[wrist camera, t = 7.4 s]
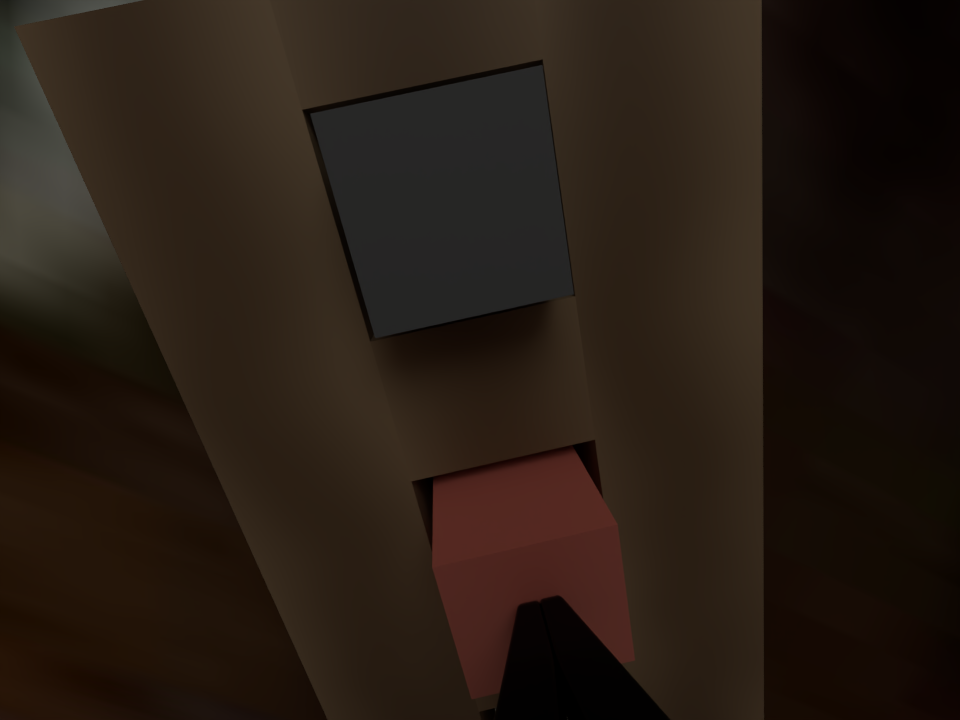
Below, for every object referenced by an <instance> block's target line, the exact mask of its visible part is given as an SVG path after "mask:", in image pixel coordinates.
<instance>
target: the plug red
mask: <svg viewBox="0 0 960 720" xmlns="http://www.w3.org/2000/svg"><path fill="white" fill-rule="evenodd" d="M432 569H433V572H434V575H435V579H436V582H437V585H438V589H439V592H440V595H441V599H442V602H443V605H444V609H445V612H446V616H447V619H448V622H449V626H450V629H451V632H452V636H453V639H454V642H455V646H456V649H457V652H458V656H459V659H460V662H461V666H462V669H463V673H464V676H465V679H466V683H467V686H468V689H469V693H470V696H471V699H476V698H480V697H484V696H488V695H492V694H497V693H500V688H501V683H502V678H503V674H504V669H505V664H506V659H507V654H508V650H509V645H510V640H511V635H512V631H513V626H514V621H515V616H516V611H517V608H518V606H519V605H520V604H522V603H526V602H530V601H535V600H537V601H538V602H539V603H540V601H541V600H542V599H543V598H547V597H552V596H556V595H559V596H561V597H563V598H564V600H565V601H566V602H567V603H568V604H569V605H570V606H571V607H572V609H573V610H574V611H575V612H576V613H577V614H578V615H579V616H580V618H581V619H582V620H583V621H584V622H585V623H586V624H587V626H588V627H589V628H590V629H591V630H592V631H593V632H594V633H595V635H596V636H597V637H598V638H599V639H600V640H601V641H602V643H603V644H604V645H605V646H606V647H607V648H608V649H609V650H610V652H611V653H612V654H613V655H614V656H615V657H616V658H617V659H618V661H619V662H620V663H621V664H622V663H626V662H631V661H635V656H634V648H633V640H632V632H631V625H630V617H629V609H628V601H627V593H626V586H625V578H624V570H623V562H622V554H621V546H620V539H619V531H618V524H617V522H616V521H615V519H614V517H613V515H612V514H611V512H610V510H609V509H608V507H607V505H606V503H605V502H604V500H603V498H602V496H601V495H600V493H599V491H598V489H597V488H596V486H595V484H594V482H593V481H592V479H591V477H590V475H589V474H588V472H587V470H586V468H585V467H584V465H583V463H582V462H581V460H580V458H579V456H578V455H577V453H576V451H575V449H574V448H573V446H572V445H569V446H565V447H560V448H556V449H552V450H547V451H543V452H538V453H534V454H530V455H525V456H521V457H516V458H512V459H508V460H503V461H499V462H495V463H490V464H486V465H481V466H477V467H473V468H468V469H464V470H459V471H455V472H451V473H446V474H442V475H438V476H433V543H432Z"/></svg>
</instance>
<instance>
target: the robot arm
mask: <svg viewBox="0 0 960 720" xmlns="http://www.w3.org/2000/svg"><path fill="white" fill-rule="evenodd" d="M494 720H671V719H670V718H669V717H668V716H667V715H666V714H665V713H664V711H663V710H662V709H661V708H660V707H659V706H658V705H657V704H656V702H655V701H654V700H653V699H652V698H651V697H650V696H649V695H648V693H647V692H646V691H645V690H644V689H643V688H642V687H641V685H640V684H639V683H638V682H637V681H636V680H635V679H634V678H633V676H632V675H631V674H630V673H629V672H628V671H627V670H626V669H625V667H624V666H623V665H622V664H621V663H620V662H619V661H618V659H617V658H616V657H615V656H614V655H613V654H612V653H611V652H610V650H609V649H608V648H607V647H606V646H605V645H604V644H603V643H602V641H601V640H600V639H599V638H598V637H597V636H596V635H595V633H594V632H593V631H592V630H591V629H590V628H589V627H588V626H587V624H586V623H585V622H584V621H583V620H582V619H581V618H580V616H579V615H578V614H577V613H576V612H575V611H574V610H573V609H572V607H571V606H570V605H569V604H568V603H567V602H566V601H565V600H564V598H563V597H561V596H559V595H556V596H552V597H547V598H543V599H542V600H541V601H540V603H539V602H538V601H537V600H535V601H530V602H526V603H522V604H520V605H519V606H518V608H517V611H516V616H515V621H514V626H513V631H512V635H511V640H510V645H509V650H508V654H507V659H506V664H505V669H504V674H503V678H502V683H501V688H500V693H499V697H498V702H497V707H496V712H495V717H494Z"/></svg>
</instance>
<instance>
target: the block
mask: <svg viewBox="0 0 960 720" xmlns="http://www.w3.org/2000/svg"><path fill="white" fill-rule="evenodd" d="M15 29H16V32H17V34H18V36H19V38H20V40H21V43H22V45H23V47H24V49H25V51H26V54H27V56H28V58H29V60H30V63H31V65H32V67H33V69H34V71H35V74H36V76H37V78H38V80H39V82H40V85H41V87H42V89H43V91H44V93H45V96H46V98H47V100H48V102H49V105H50V107H51V109H52V111H53V113H54V116H55V118H56V120H57V122H58V124H59V127H60V129H61V131H62V133H63V135H64V138H65V140H66V142H67V144H68V147H69V149H70V151H71V153H72V155H73V158H74V160H75V162H76V164H77V166H78V169H79V171H80V173H81V175H82V178H83V180H84V182H85V184H86V186H87V189H88V191H89V193H90V195H91V197H92V200H93V202H94V204H95V206H96V208H97V211H98V213H99V215H100V217H101V220H102V222H103V224H104V226H105V228H106V231H107V233H108V235H109V237H110V239H111V242H112V244H113V246H114V248H115V250H116V253H117V255H118V257H119V259H120V262H121V264H122V266H123V268H124V270H125V273H126V275H127V277H128V279H129V281H130V284H131V286H132V288H133V290H134V292H135V295H136V297H137V299H138V301H139V304H140V306H141V308H142V310H143V312H144V315H145V317H146V319H147V321H148V323H149V326H150V328H151V330H152V332H153V334H154V337H155V339H156V341H157V343H158V346H159V348H160V350H161V352H162V354H163V357H164V359H165V361H166V363H167V365H168V368H169V370H170V372H171V374H172V376H173V379H174V381H175V383H176V385H177V388H178V390H179V392H180V394H181V396H182V399H183V401H184V403H185V405H186V407H187V410H188V412H189V414H190V416H191V419H192V421H193V423H194V425H195V427H196V430H197V432H198V434H199V436H200V438H201V441H202V443H203V445H204V447H205V449H206V452H207V454H208V456H209V458H210V461H211V463H212V465H213V467H214V469H215V472H216V474H217V476H218V478H219V480H220V483H221V485H222V487H223V489H224V491H225V494H226V496H227V498H228V500H229V503H230V505H231V507H232V509H233V511H234V514H235V516H236V518H237V520H238V522H239V525H240V527H241V529H242V531H243V533H244V536H245V538H246V540H247V542H248V545H249V547H250V549H251V551H252V553H253V556H254V558H255V560H256V562H257V564H258V567H259V569H260V571H261V573H262V575H263V578H264V580H265V582H266V584H267V587H268V589H269V591H270V593H271V595H272V598H273V600H274V602H275V604H276V606H277V609H278V611H279V613H280V615H281V617H282V620H283V622H284V624H285V626H286V629H287V631H288V633H289V635H290V637H291V640H292V642H293V644H294V646H295V648H296V651H297V653H298V655H299V657H300V660H301V662H302V664H303V666H304V668H305V671H306V673H307V675H308V677H309V679H310V682H311V684H312V686H313V688H314V690H315V693H316V695H317V697H318V699H319V702H320V704H321V706H322V708H323V710H324V713H325V715H326V717H327V719H328V720H494V717H495V708H496V707H497V702H498V697H499V693H497V694H492V695H488V696H484V697H480V698H476V699H471V696H470V693H469V689H468V686H467V683H466V679H465V676H464V673H463V669H462V666H461V662H460V659H459V656H458V652H457V649H456V646H455V642H454V639H453V636H452V632H451V629H450V626H449V622H448V619H447V616H446V612H445V609H444V605H443V602H442V599H441V595H440V592H439V589H438V585H437V582H436V579H435V575H434V572H433V569H432V543H433V476H438V475H442V474H446V473H451V472H455V471H459V470H464V469H468V468H473V467H477V466H481V465H486V464H490V463H495V462H499V461H503V460H508V459H512V458H516V457H521V456H525V455H530V454H534V453H538V452H543V451H547V450H552V449H556V448H560V447H565V446H569V445H572V446H573V448H574V449H575V451H576V453H577V455H578V456H579V458H580V460H581V462H582V463H583V465H584V467H585V468H586V470H587V472H588V474H589V475H590V477H591V479H592V481H593V482H594V484H595V486H596V488H597V489H598V491H599V493H600V495H601V496H602V498H603V500H604V502H605V503H606V505H607V507H608V509H609V510H610V512H611V514H612V515H613V517H614V519H615V521H616V522H617V524H618V531H619V539H620V546H621V554H622V562H623V570H624V578H625V586H626V593H627V601H628V609H629V617H630V625H631V632H632V640H633V648H634V656H635V661H631V662H626V663H622V665H623V666H624V667H625V669H626V670H627V671H628V672H629V673H630V674H631V675H632V676H633V678H634V679H635V680H636V681H637V682H638V683H639V684H640V685H641V687H642V688H643V689H644V690H645V691H646V692H647V693H648V695H649V696H650V697H651V698H652V699H653V700H654V701H655V702H656V704H657V705H658V706H659V707H660V708H661V709H662V710H663V711H664V713H665V714H666V715H667V716H668V717H669V718H670V719H671V720H764V600H763V294H762V0H143V1H138V2H133V3H128V4H123V5H119V6H114V7H109V8H104V9H99V10H94V11H89V12H84V13H79V14H74V15H69V16H64V17H59V18H55V19H50V20H45V21H40V22H35V23H30V24H25V25H20V26H15ZM540 65H542V67H543V74H544V81H545V88H546V95H547V103H548V110H549V117H550V124H551V132H552V139H553V146H554V153H555V161H556V168H557V175H558V182H559V190H560V197H561V204H562V211H563V218H564V226H565V233H566V240H567V247H568V255H569V262H570V269H571V276H572V284H573V291H574V294H573V295H568V296H564V297H559V298H555V299H550V300H546V301H541V302H537V303H532V304H528V305H523V306H519V307H514V308H510V309H505V310H501V311H496V312H491V313H487V314H482V315H478V316H473V317H469V318H464V319H460V320H455V321H451V322H446V323H442V324H437V325H433V326H428V327H424V328H419V329H415V330H410V331H405V332H401V333H396V334H392V335H387V336H383V337H378V338H375V336H374V332H373V329H372V325H371V322H370V319H369V315H368V312H367V308H366V305H365V301H364V298H363V294H362V291H361V288H360V284H359V281H358V277H357V274H356V270H355V267H354V263H353V260H352V256H351V253H350V250H349V246H348V243H347V239H346V236H345V232H344V229H343V225H342V222H341V218H340V215H339V212H338V208H337V205H336V201H335V198H334V194H333V191H332V187H331V184H330V181H329V177H328V174H327V170H326V167H325V163H324V160H323V156H322V153H321V149H320V146H319V143H318V139H317V136H316V132H315V129H314V125H313V122H312V118H311V115H310V114H311V113H316V112H321V111H325V110H330V109H335V108H340V107H345V106H349V105H354V104H359V103H364V102H368V101H373V100H378V99H383V98H387V97H392V96H397V95H402V94H406V93H411V92H416V91H421V90H425V89H430V88H435V87H440V86H444V85H449V84H454V83H459V82H464V81H468V80H473V79H478V78H483V77H487V76H492V75H497V74H502V73H506V72H511V71H516V70H521V69H525V68H530V67H535V66H540Z"/></svg>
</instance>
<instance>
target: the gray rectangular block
mask: <svg viewBox="0 0 960 720" xmlns="http://www.w3.org/2000/svg"><path fill="white" fill-rule="evenodd" d="M310 115H311V118H312V122H313V125H314V129H315V132H316V136H317V139H318V143H319V146H320V149H321V153H322V156H323V160H324V163H325V167H326V170H327V174H328V177H329V181H330V184H331V187H332V191H333V194H334V198H335V201H336V205H337V208H338V212H339V215H340V218H341V222H342V225H343V229H344V232H345V236H346V239H347V243H348V246H349V250H350V253H351V256H352V260H353V263H354V267H355V270H356V274H357V277H358V281H359V284H360V288H361V291H362V294H363V298H364V301H365V305H366V308H367V312H368V315H369V319H370V322H371V325H372V329H373V332H374V336H375V338H378V337H383V336H387V335H392V334H396V333H401V332H405V331H410V330H415V329H419V328H424V327H428V326H433V325H437V324H442V323H446V322H451V321H455V320H460V319H464V318H469V317H473V316H478V315H482V314H487V313H491V312H496V311H501V310H505V309H510V308H514V307H519V306H523V305H528V304H532V303H537V302H541V301H546V300H550V299H555V298H559V297H564V296H568V295H573V294H574V291H573V284H572V276H571V269H570V262H569V255H568V247H567V240H566V233H565V226H564V218H563V211H562V204H561V197H560V190H559V182H558V175H557V168H556V161H555V153H554V146H553V139H552V132H551V124H550V117H549V110H548V103H547V95H546V88H545V81H544V74H543V67H542V65H540V66H535V67H530V68H525V69H521V70H516V71H511V72H506V73H502V74H497V75H492V76H487V77H483V78H478V79H473V80H468V81H464V82H459V83H454V84H449V85H444V86H440V87H435V88H430V89H425V90H421V91H416V92H411V93H406V94H402V95H397V96H392V97H387V98H383V99H378V100H373V101H368V102H364V103H359V104H354V105H349V106H345V107H340V108H335V109H330V110H325V111H321V112H316V113H311V114H310Z"/></svg>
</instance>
